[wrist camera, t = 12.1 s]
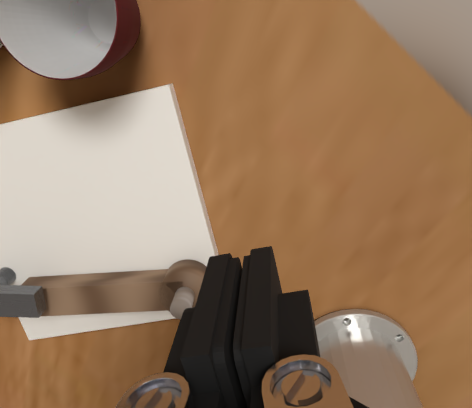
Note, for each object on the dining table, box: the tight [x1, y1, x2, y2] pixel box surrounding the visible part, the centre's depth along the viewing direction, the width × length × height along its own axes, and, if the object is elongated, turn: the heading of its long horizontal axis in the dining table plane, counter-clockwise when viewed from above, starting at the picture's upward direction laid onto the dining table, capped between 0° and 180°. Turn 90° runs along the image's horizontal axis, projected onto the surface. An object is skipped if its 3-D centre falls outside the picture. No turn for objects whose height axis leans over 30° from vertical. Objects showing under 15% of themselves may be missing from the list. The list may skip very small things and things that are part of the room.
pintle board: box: [0, 83, 219, 340], centre depth 41 cm, size 22×22×2 cm
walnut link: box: [21, 259, 207, 319], centre depth 39 cm, size 18×5×5 cm, turn 96°
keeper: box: [0, 267, 47, 318], centre depth 40 cm, size 7×2×5 cm, turn 91°
